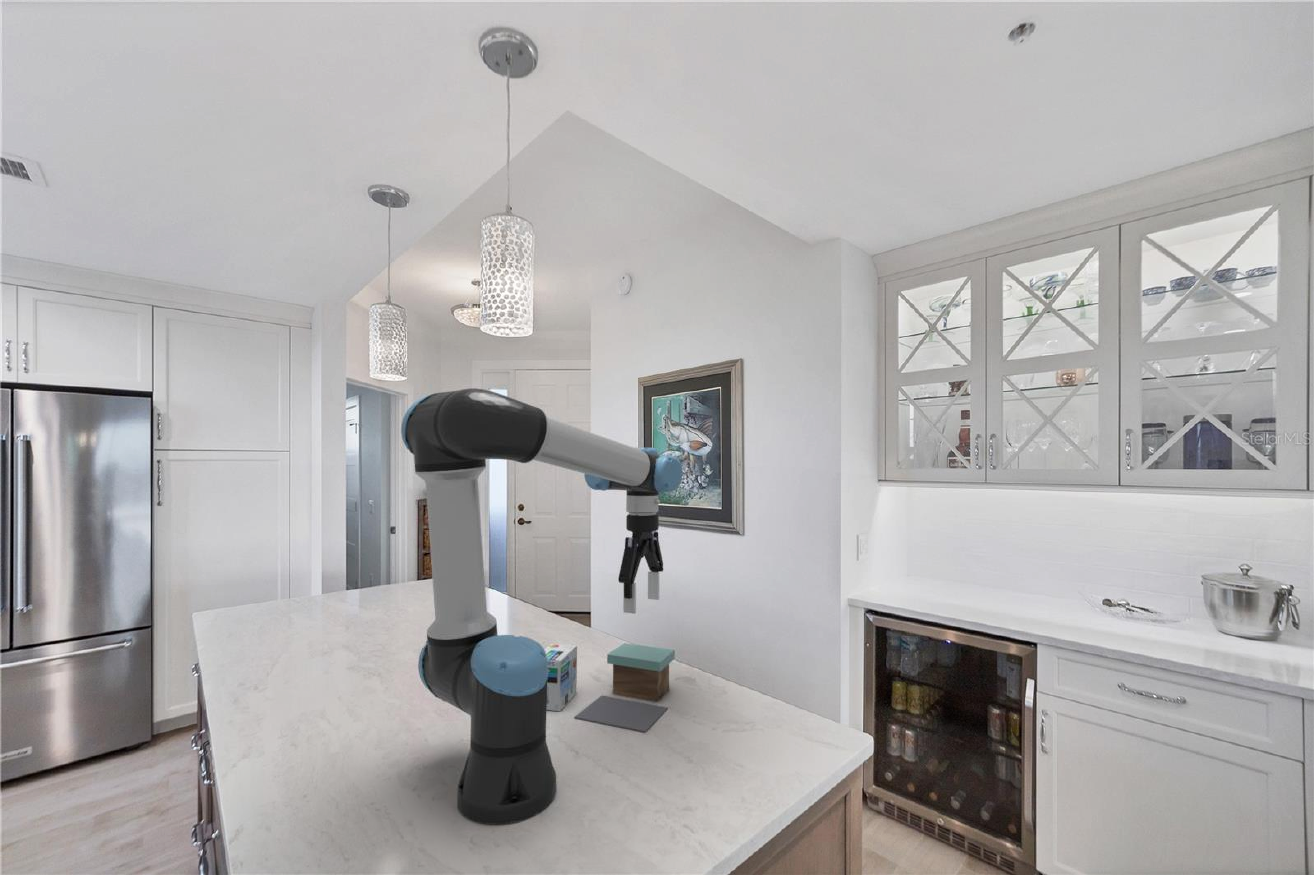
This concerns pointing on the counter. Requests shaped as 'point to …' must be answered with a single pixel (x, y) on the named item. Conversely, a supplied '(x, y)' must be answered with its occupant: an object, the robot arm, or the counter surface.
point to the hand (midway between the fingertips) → (642, 605)
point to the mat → (622, 713)
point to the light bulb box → (561, 675)
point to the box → (640, 682)
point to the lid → (641, 657)
